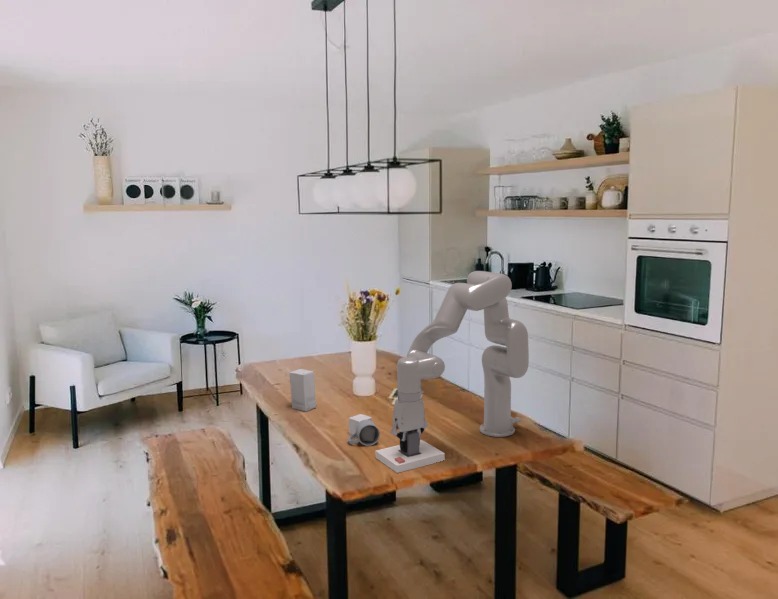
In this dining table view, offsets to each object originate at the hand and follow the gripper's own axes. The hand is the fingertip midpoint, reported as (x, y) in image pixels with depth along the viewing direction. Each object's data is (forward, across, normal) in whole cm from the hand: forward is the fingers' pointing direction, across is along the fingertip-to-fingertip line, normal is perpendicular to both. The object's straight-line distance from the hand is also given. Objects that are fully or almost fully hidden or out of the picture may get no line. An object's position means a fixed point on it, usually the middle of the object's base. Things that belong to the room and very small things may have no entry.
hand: (409, 448), depth 208 cm
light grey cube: (+4, +3, -29) cm, 29 cm away
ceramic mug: (+4, +6, -21) cm, 22 cm away
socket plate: (+3, 0, 0) cm, 3 cm away
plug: (+2, 0, 0) cm, 2 cm away
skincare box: (+4, +10, -66) cm, 67 cm away
